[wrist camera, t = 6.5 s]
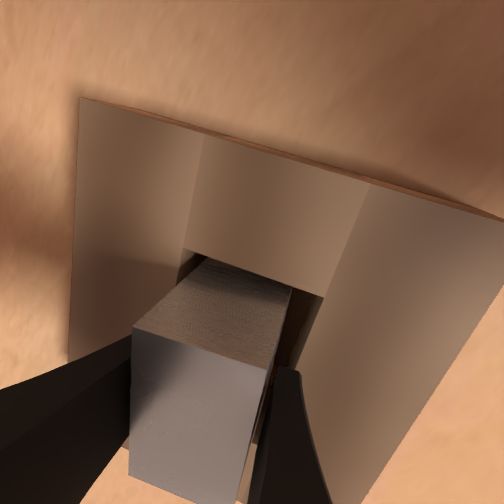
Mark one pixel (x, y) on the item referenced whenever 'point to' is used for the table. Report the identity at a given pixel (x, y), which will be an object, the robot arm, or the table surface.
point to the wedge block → (203, 380)
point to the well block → (285, 269)
